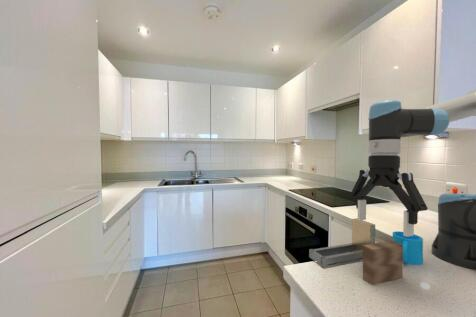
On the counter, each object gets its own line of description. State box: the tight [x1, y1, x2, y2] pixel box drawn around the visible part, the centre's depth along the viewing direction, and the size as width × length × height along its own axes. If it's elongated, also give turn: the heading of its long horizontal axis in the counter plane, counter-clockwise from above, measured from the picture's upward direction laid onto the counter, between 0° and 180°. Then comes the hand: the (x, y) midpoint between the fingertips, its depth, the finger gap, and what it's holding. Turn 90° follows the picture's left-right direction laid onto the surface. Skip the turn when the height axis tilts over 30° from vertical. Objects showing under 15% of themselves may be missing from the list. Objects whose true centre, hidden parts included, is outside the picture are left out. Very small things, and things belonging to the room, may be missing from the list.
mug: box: [392, 231, 424, 266], centre depth 68 cm, size 12×8×8 cm
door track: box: [308, 217, 376, 269], centre depth 70 cm, size 22×7×12 cm, turn 107°
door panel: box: [362, 240, 404, 286], centre depth 58 cm, size 12×3×10 cm, turn 107°
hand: (382, 226), depth 58 cm, fingers open, 13 cm apart
